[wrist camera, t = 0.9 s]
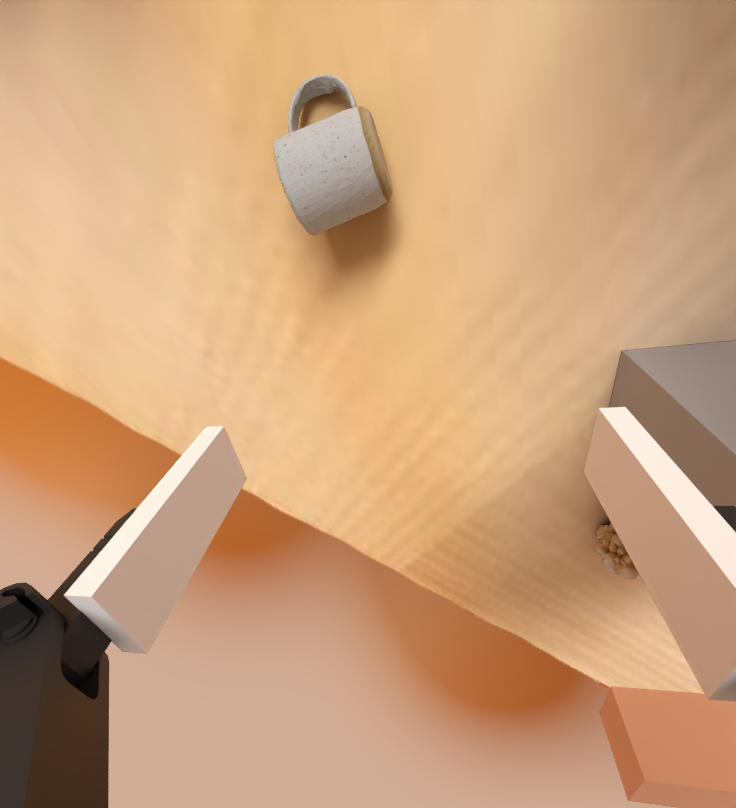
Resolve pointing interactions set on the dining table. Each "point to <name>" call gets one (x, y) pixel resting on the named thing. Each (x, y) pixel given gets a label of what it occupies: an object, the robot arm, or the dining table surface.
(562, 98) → the dining table surface
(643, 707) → the rail
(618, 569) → the mineral formation
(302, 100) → the ceramic mug
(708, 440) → the stand
